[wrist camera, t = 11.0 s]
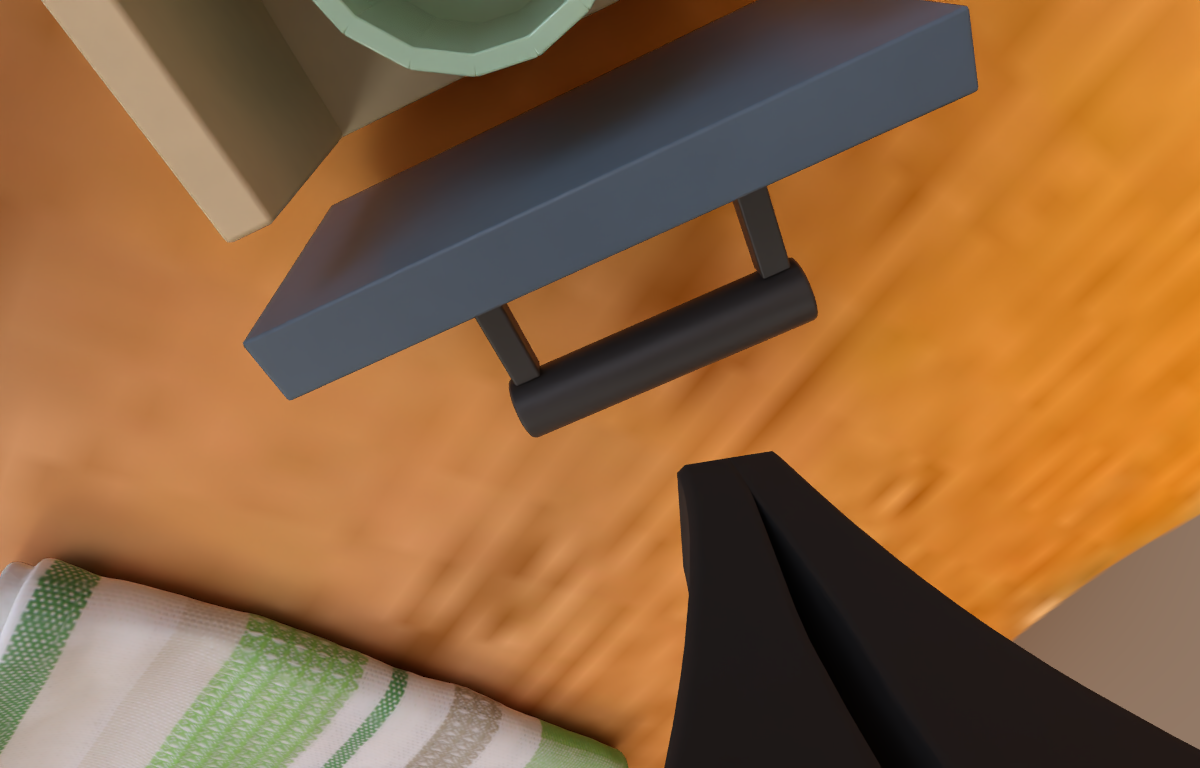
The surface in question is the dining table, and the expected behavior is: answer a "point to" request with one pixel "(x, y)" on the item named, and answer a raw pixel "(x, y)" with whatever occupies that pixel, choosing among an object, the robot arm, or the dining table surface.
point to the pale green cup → (455, 30)
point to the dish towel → (229, 691)
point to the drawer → (517, 173)
